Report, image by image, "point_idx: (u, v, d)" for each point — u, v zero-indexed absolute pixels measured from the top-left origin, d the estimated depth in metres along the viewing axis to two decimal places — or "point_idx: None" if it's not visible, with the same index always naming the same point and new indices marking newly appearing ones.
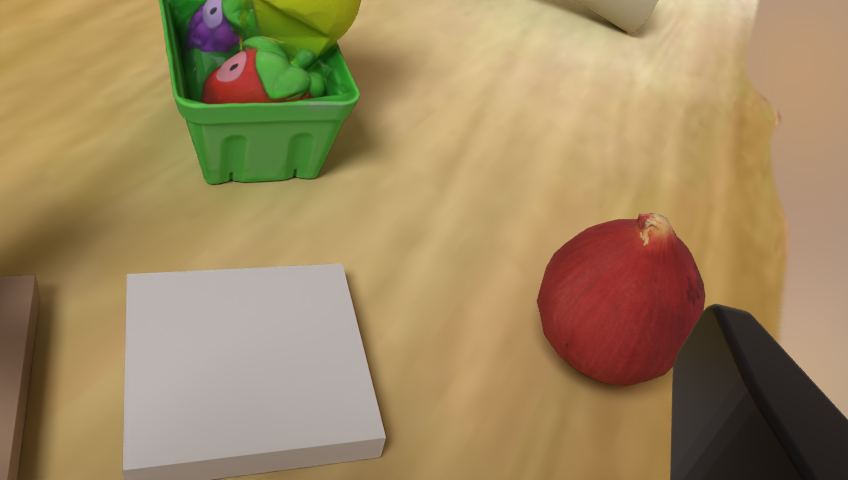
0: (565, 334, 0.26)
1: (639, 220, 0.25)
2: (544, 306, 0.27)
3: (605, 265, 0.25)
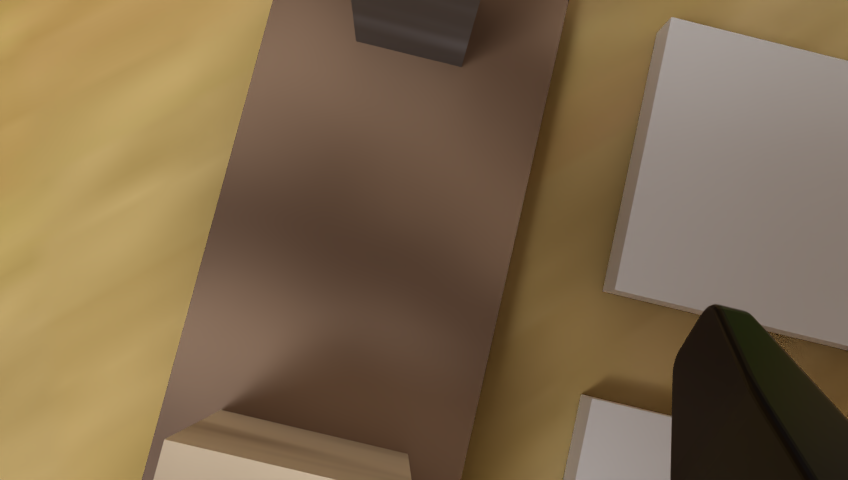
0: None
1: None
2: None
3: None
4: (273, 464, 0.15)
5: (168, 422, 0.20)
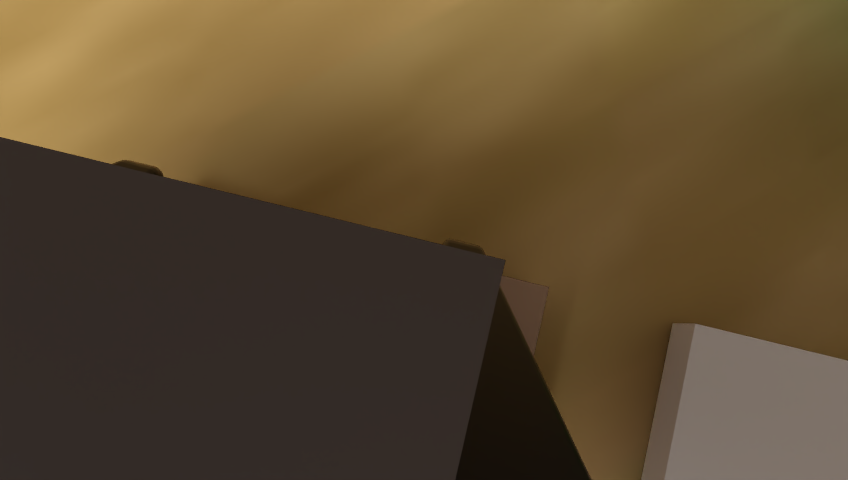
0: None
1: None
2: None
3: None
4: None
5: None
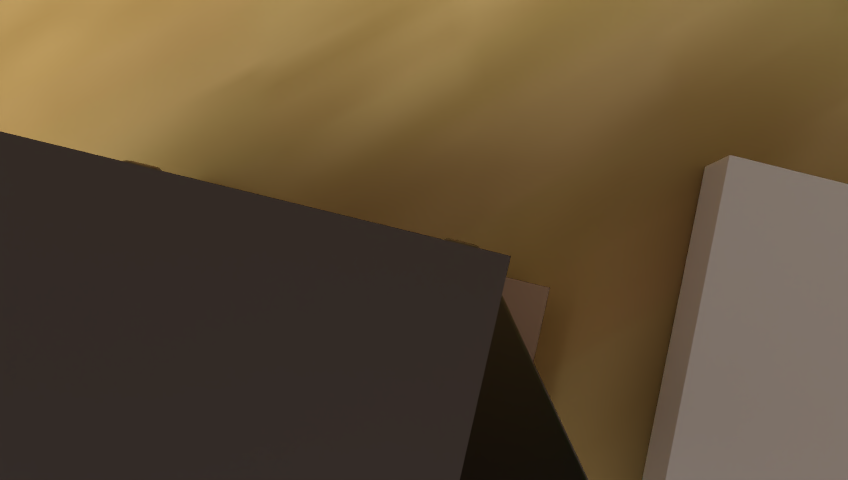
0: None
1: None
2: None
3: None
4: None
5: None
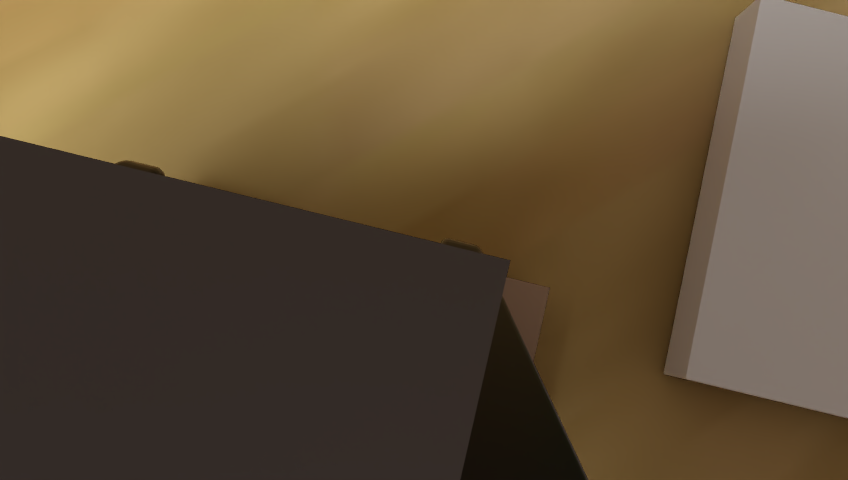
0: None
1: None
2: None
3: None
4: None
5: None
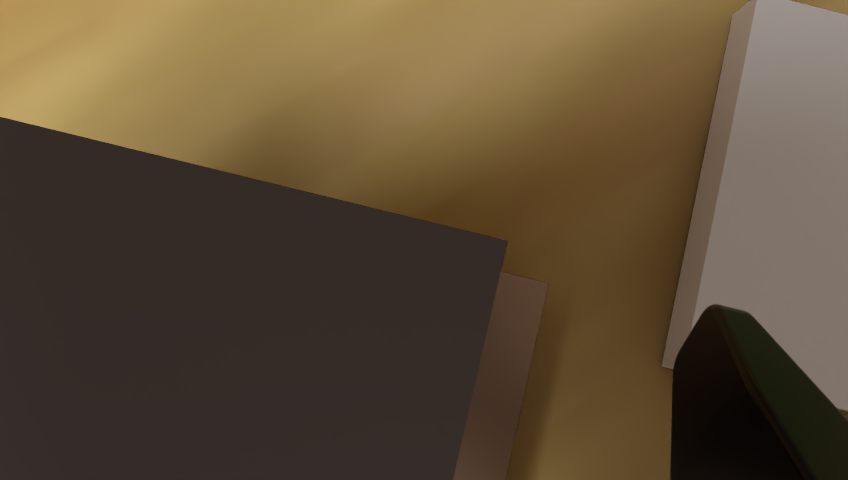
0: None
1: None
2: None
3: None
4: None
5: None
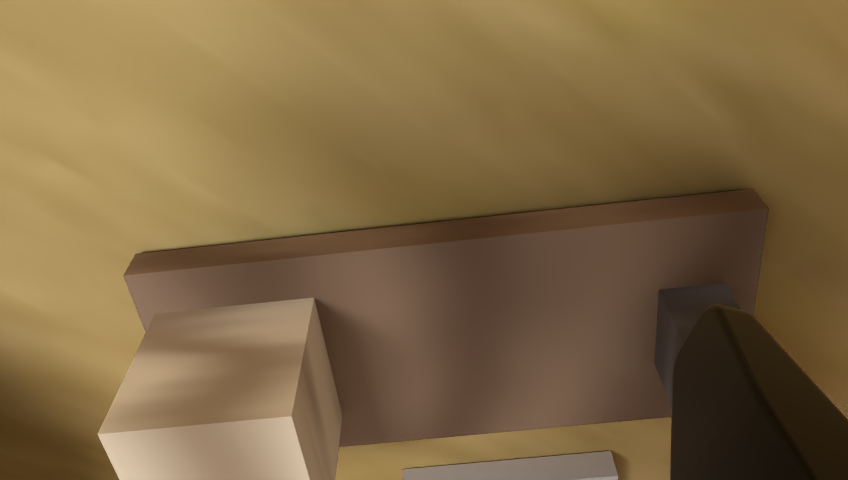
0: None
1: None
2: None
3: None
4: (308, 471, 0.20)
5: (285, 266, 0.23)
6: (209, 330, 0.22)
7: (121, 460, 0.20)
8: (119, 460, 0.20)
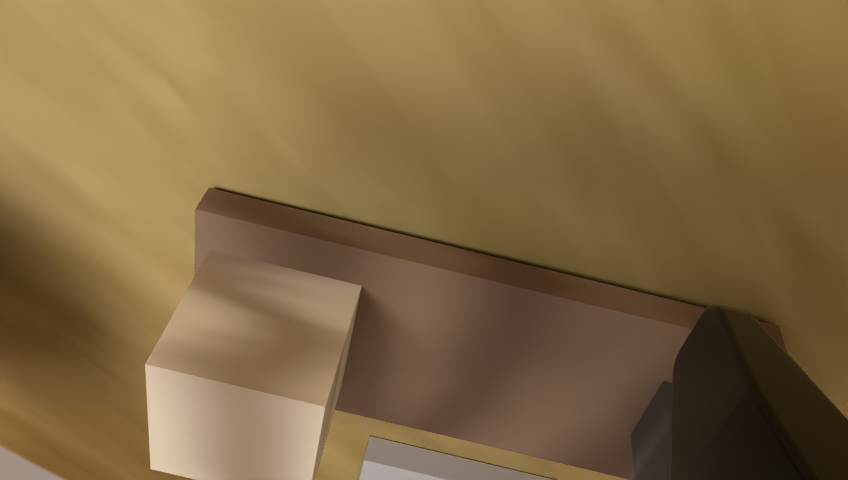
0: None
1: None
2: None
3: None
4: (317, 450, 0.22)
5: (348, 253, 0.24)
6: (260, 287, 0.24)
7: (156, 390, 0.21)
8: (154, 389, 0.21)
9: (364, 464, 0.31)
